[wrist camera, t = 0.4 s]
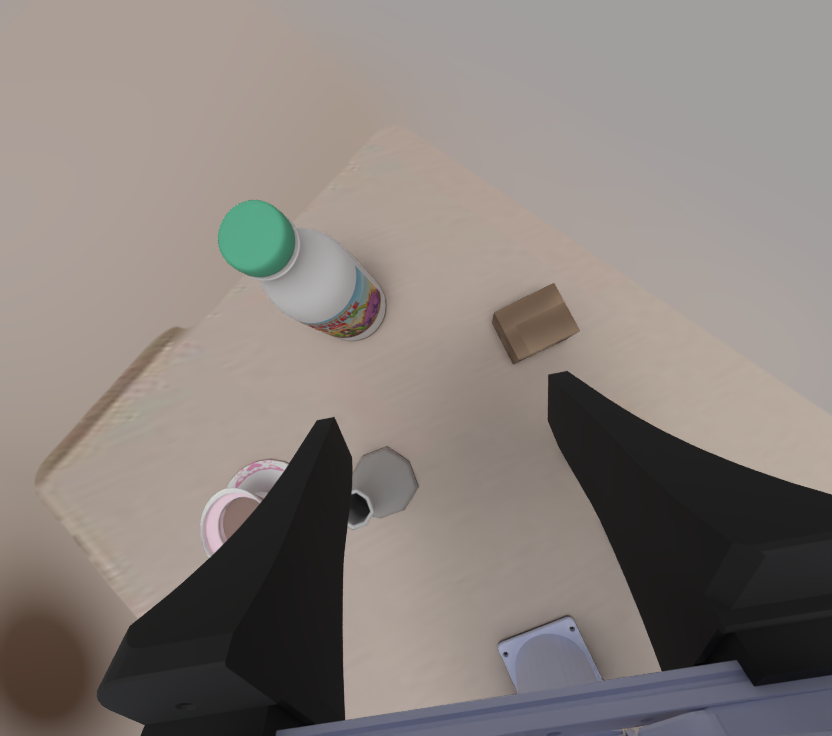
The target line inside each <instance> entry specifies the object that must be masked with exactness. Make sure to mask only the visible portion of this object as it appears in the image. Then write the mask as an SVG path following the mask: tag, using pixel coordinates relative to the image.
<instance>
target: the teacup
mask: <svg viewBox="0 0 832 736" xmlns="http://www.w3.org/2000/svg"><path fill="white" fill-rule="evenodd" d="M287 466H288V463H286V462H282V461H277V460H272V459H269V460H263V461H257V462H254V463H252V464H250V465H248V466H246V467H244V468H243V469H241V470H240V471H239V472H238V473H237V474H236V475H235V476H234V477H233V478H232V480H231V481H230V482H229V484H228V487H227V489H224V490H221V491H219V492H218V493H216V494H215V495H214V496H213V497H212V498H211V499H210V500H209V501H208V503H207V505H206V506H205V508H204V511H203V514H202V518H201V526H200V532H201V540H202V544H203V547H204V549H205V552H206V554H207V555H208V557H209V558H210V557H211V556H212V555H213V554H214V553H215V552H216V551H217V550H218V549H219V548H220V547H221V546H222V545H223V544H224V543H225V542H226V541H227V540H228V539H229V538H230V537H231V536H232V535H233V533H234V532H235V531H236V530H237V529H238V528H239V527H240V526H241V525H242V524H243V523H244V522H245V520H246V519H247V518H248V517H249V516H250V515H251V513H252V512H253V511H254V510H255V509H256V508H257V506H258V505H259V504H260V503H261V502H262V500H263V499H264V498H265V496H266V495H267V494H268V492H267V491H270V490H271V488H272V487H273V486H274V484H275V483H276V482H277V480H278V479H279V477H280V476H281V475H282V473H283V472H284V470H285V469H286V467H287Z"/></svg>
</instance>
